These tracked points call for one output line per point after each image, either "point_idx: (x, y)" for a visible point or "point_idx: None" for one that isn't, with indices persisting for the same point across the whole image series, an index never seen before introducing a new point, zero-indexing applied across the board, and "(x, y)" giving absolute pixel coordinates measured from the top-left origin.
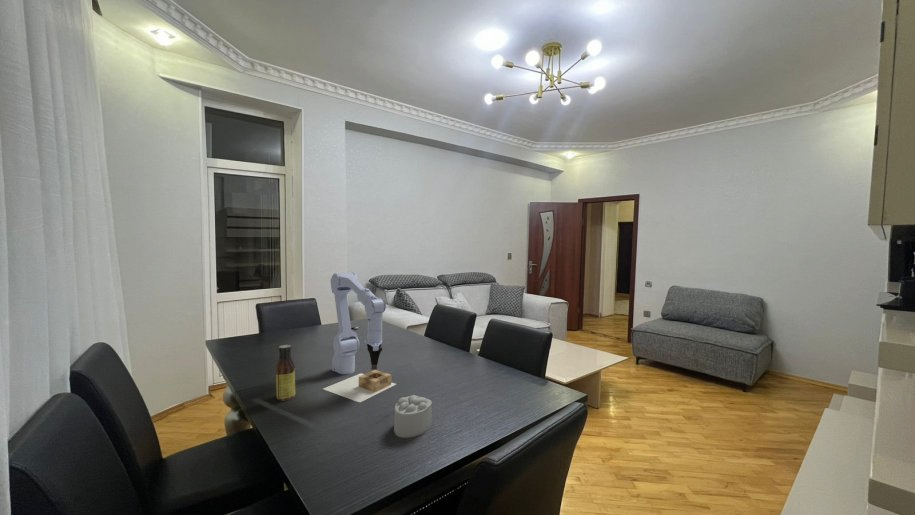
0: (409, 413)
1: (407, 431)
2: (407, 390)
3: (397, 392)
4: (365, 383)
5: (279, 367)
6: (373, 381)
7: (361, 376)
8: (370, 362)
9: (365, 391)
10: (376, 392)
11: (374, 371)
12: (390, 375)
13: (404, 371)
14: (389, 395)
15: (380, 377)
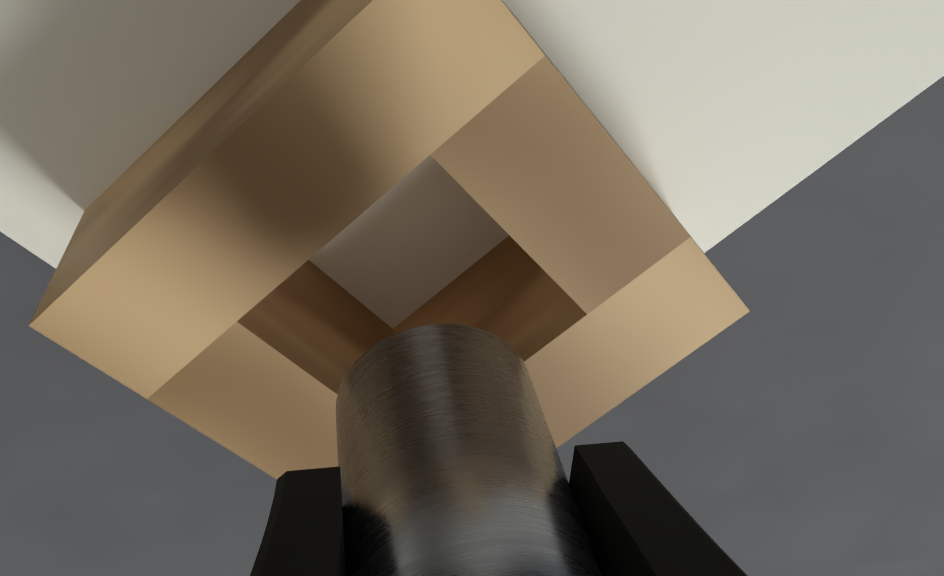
0: None
1: None
2: (244, 558)
3: (190, 464)
4: (265, 68)
5: None
6: (73, 278)
7: (433, 9)
8: (447, 462)
9: (121, 28)
10: (69, 225)
11: (661, 301)
12: None
13: (844, 531)
14: (86, 375)
15: (286, 406)
